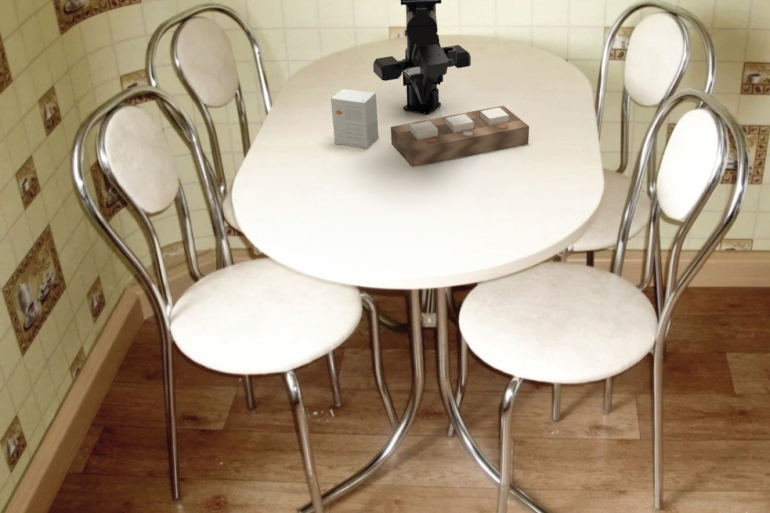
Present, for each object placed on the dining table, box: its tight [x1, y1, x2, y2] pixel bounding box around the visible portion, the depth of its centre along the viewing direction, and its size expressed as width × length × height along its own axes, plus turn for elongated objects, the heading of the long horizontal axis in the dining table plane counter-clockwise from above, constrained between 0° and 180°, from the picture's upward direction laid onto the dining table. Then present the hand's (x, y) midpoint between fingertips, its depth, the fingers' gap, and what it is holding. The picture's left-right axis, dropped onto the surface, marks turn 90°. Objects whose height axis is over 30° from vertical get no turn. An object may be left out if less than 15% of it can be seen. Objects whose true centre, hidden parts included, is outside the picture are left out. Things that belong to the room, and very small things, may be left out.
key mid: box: [445, 114, 474, 133], centre depth 198 cm, size 4×4×3 cm
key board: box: [390, 105, 530, 168], centre depth 199 cm, size 26×12×4 cm, turn 110°
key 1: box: [410, 121, 438, 140], centre depth 196 cm, size 4×4×3 cm
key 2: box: [480, 108, 509, 126], centre depth 201 cm, size 4×4×3 cm
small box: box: [330, 88, 380, 149], centre depth 201 cm, size 8×6×10 cm
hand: (423, 103), depth 193 cm, fingers closed
